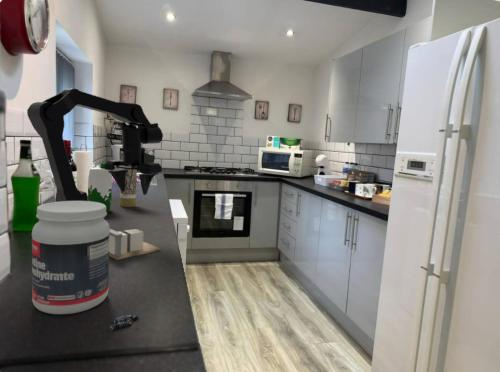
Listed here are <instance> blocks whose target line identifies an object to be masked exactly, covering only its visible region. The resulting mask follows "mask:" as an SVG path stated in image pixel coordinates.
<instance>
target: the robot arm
mask: <svg viewBox="0 0 500 372" xmlns="http://www.w3.org/2000/svg"><path fill="white" fill-rule="evenodd" d="M76 106H77V107H81V108H85V109H87V110H90V111H95V112H100V113H103V114H106V115H109V116H112V117H113V118H114V119H115V120H117V121H120V122H119V124H117V125H116V126H115V128H114V130H115V131H121V143H122V144H121V145H122V147H119V152H122V151H123V160H121V159H114V160H113V159H112V160H106V162H104V163H105V170H110V171H108V172H109V173H110V174H111V176H112V178H113V179H114V181H115V183H116V184H117V186H118V188H119V189H120V190H121V191H122V192H124V191H125V174H126V172H127V171H128V170H127V169H133V170H137V171H139V172H140V173H139V174H138V176H139V181H140V186H141V190H142V194H143V196H146V195H147V194H148V193H149V192H148V191H149V189H150V185H151V183H152V180H153V178H154V177H155V176H156V175H158V174H159V173H162V165H161V164H160V163H159V162H155V159H156V156H155V155H153V154H150V153H148V152H146V148H145V147H142V144H143V145H151V144H154V145H155V144H161V142H162V140H163V137H164V134H163V131H162V129H161V128H160V127H159V123H157V122H150V121H149V118H148V117H147V115H146V114H145V113H144V110H143V107H142V105H140V104H138V103H132V102H121V101H120V102H118V101H114V100H111V99H108V98H105V97H101V96H98V95H94V94H90V93H87V92H85V91H81V90H80V89H77V88H66V89H64V90H62V91H61V92H58V93H57V94H56V95H53V96H51V97H48V98H46V99H45V100H43V101H36V102H33V103H31V104H30V105H29V107H28V108H27V111H26V113H27V117H28V119H29V121H30V123H31V126H32V127H33V129H34V130H35V132H36V133H37V134H38V135H39V137H40V138H41V140H42V143H43V147H44V150H45V153H46V157H47V161H48V164H49V167H50V170H51V173H52V177H53V180H54V184H55V187H56V194H55V195H56V196H55V201H54V202H60V201H88V192H86V191H83V190H82V191H81V190H79V189H78V187H77V184H76V181H75V177H74V173H73V169H72V166H71V163H70V159H69V155H68V151H67V148H66V145H65V141H64V137H63V134H64V129H65V116H66V115H68V114H69V113H71V111H73V109H74V108H75V107H76ZM129 165H131V166H129Z"/></svg>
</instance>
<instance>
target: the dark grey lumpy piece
mask: <svg viewBox="0 0 500 372" xmlns="http://www.w3.org/2000/svg"><path fill="white" fill-rule="evenodd" d="M139 320H140V317H139V316H138V315H137V314H127V315H120V316H118V317H116V318H115V319H114V320H113V321H112V324H111V325H110V326H109V327H108V328H109V331H111V332H116V331H118V330H122V329H125V328H130V327H131V326H132V325H133V323H134V322H137V321H139ZM131 331H132V330H129V332H131Z"/></svg>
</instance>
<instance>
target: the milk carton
mask: <svg viewBox="0 0 500 372" xmlns="http://www.w3.org/2000/svg"><path fill="white" fill-rule="evenodd" d="M105 163H106V162H103V163H102V162H101V163H100V167H98V166H97V167H89V172H88V178H87V197H88V201H92V202H98V203H102V204H104V205H105V206H106V212H107V213H110V212H111V206H112V205H111V204H112V194H113V191H112V189H113V188H112V187H113V184H112V183H113V180H112V178H113V176H112V175H111V174H110V173H109V172H108V171H110V170H105Z"/></svg>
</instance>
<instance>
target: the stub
mask: <svg viewBox="0 0 500 372" xmlns="http://www.w3.org/2000/svg"><path fill="white" fill-rule="evenodd" d="M121 232H122V233H125V234H127V251H128V252H132V251H137V250H142V249H143V242H144V231H142V230H141V229H140V230H139V229H138V228H133V229H132V228H131V229H126V230H123V229H122V231H121Z"/></svg>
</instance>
